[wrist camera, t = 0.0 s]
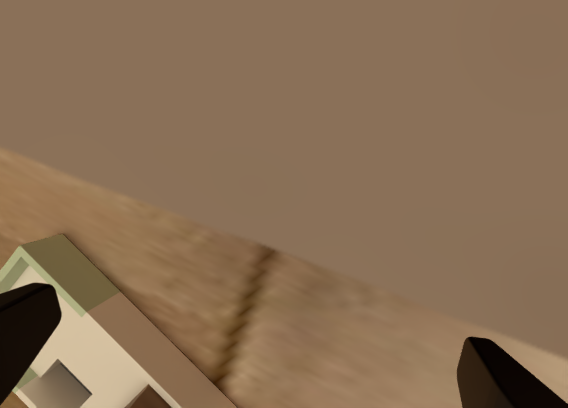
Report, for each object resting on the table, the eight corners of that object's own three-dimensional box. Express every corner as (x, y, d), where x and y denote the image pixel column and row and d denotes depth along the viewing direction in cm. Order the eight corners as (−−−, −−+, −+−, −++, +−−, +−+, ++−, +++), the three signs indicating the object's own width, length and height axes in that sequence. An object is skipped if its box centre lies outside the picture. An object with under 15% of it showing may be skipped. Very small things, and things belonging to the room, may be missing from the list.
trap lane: (203, 512, 27) (183, 564, 23) (1, 309, 27) (-47, 330, 24) (278, 449, 25) (269, 495, 22) (62, 233, 26) (19, 245, 22)
